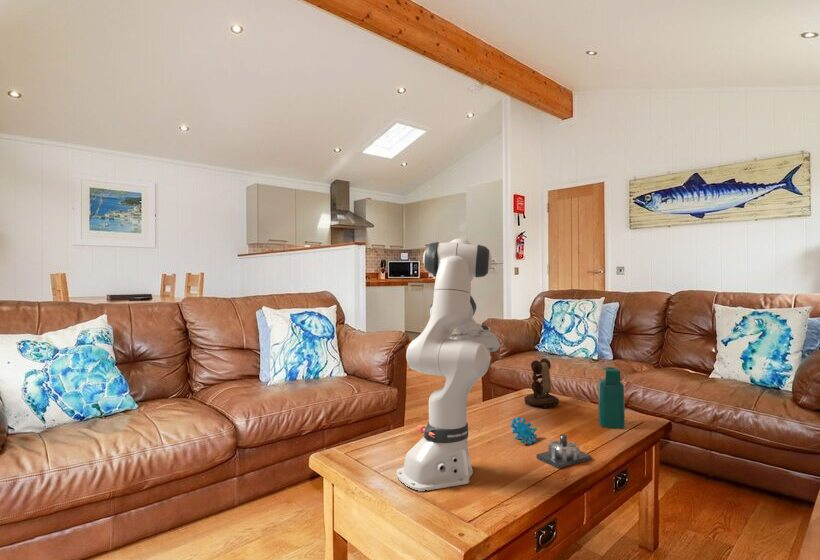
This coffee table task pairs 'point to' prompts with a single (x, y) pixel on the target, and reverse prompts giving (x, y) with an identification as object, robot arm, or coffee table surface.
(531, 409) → the coffee table surface
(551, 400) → the dark brown figurine
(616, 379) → the green bottle
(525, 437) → the gear
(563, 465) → the grey metal fixture
